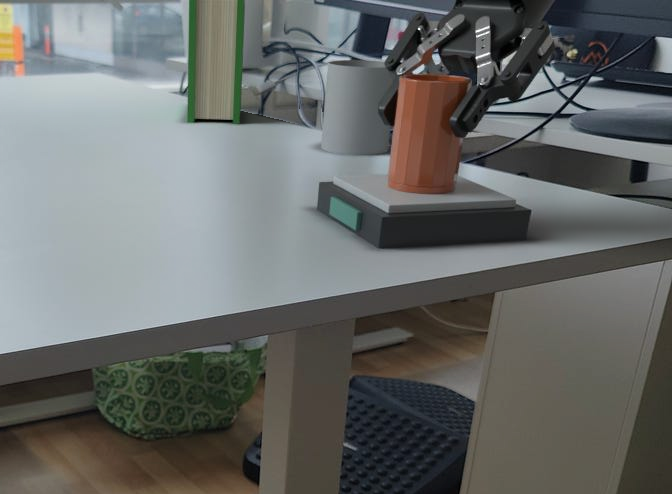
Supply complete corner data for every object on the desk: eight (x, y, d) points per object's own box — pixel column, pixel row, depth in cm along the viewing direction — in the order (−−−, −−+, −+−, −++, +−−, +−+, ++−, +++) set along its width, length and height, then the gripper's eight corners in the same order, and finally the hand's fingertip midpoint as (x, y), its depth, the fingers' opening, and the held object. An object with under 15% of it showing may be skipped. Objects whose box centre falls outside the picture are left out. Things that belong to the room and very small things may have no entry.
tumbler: (435, 178, 89) (450, 73, 84) (467, 192, 84) (485, 81, 79) (376, 181, 87) (388, 74, 83) (405, 195, 82) (419, 82, 78)
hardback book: (239, 125, 136) (247, -71, 124) (187, 124, 136) (190, -72, 124) (240, 107, 151) (248, -69, 139) (194, 106, 152) (197, -70, 139)
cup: (315, 153, 118) (322, 65, 113) (326, 142, 125) (333, 59, 120) (383, 158, 116) (393, 68, 111) (391, 147, 123) (401, 62, 118)
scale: (447, 205, 95) (453, 169, 93) (525, 242, 83) (533, 201, 81) (312, 212, 91) (315, 174, 90) (373, 251, 80) (378, 208, 78)
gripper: (607, 9, 81) (502, 167, 80) (467, 0, 90) (371, 142, 90) (588, -66, 75) (474, 104, 75) (441, -66, 85) (338, 84, 84)
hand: (418, 124), depth 82 cm, fingers open, 7 cm apart
